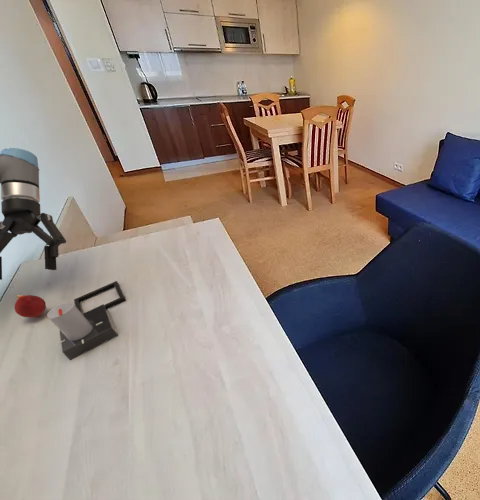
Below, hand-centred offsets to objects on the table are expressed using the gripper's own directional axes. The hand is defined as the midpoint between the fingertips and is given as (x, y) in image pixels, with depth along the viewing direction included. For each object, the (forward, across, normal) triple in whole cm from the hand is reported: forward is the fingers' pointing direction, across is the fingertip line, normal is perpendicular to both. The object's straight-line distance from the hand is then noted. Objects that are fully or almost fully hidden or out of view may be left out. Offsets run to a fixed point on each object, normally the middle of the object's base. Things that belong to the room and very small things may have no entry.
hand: (23, 274), depth 83 cm
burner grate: (+11, -16, -5) cm, 20 cm away
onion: (+12, 0, -4) cm, 12 cm away
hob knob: (+20, -19, +8) cm, 29 cm away
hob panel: (+20, -19, +5) cm, 28 cm away
